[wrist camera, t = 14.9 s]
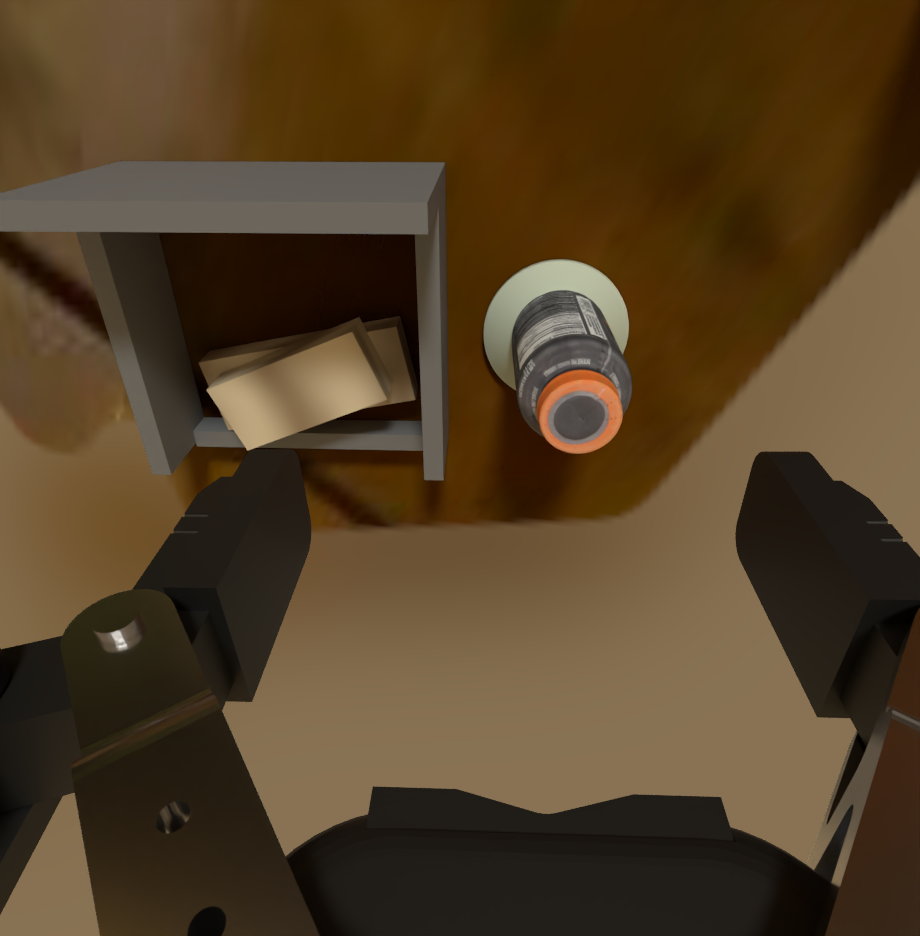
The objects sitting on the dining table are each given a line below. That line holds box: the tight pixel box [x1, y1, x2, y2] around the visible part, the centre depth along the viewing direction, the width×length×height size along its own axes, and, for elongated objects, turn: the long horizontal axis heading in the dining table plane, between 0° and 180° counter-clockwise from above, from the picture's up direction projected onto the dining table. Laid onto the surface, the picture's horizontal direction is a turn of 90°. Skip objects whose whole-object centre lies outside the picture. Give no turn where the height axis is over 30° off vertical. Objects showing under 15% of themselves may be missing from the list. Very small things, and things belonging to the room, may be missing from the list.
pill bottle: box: [512, 290, 632, 454], centre depth 35 cm, size 6×6×11 cm
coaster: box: [484, 259, 629, 390], centre depth 40 cm, size 9×9×1 cm
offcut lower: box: [198, 316, 418, 430], centre depth 42 cm, size 13×5×2 cm, turn 101°
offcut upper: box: [207, 317, 392, 451], centre depth 39 cm, size 10×5×2 cm, turn 112°
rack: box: [0, 161, 449, 480], centre depth 35 cm, size 18×18×12 cm
